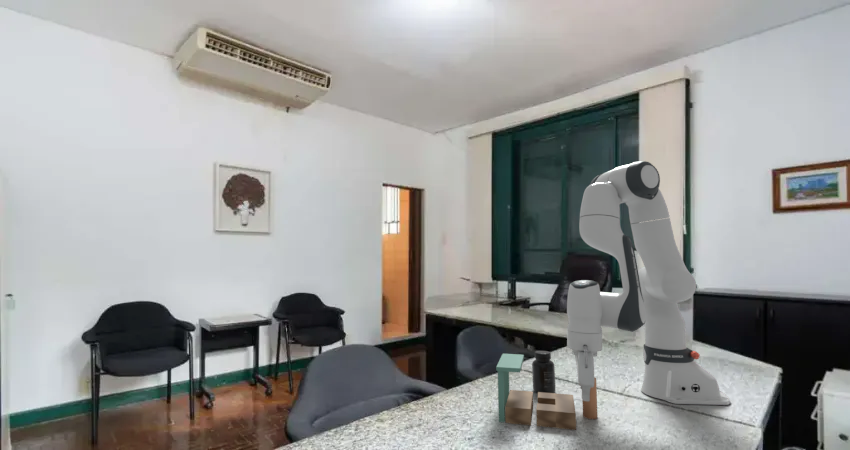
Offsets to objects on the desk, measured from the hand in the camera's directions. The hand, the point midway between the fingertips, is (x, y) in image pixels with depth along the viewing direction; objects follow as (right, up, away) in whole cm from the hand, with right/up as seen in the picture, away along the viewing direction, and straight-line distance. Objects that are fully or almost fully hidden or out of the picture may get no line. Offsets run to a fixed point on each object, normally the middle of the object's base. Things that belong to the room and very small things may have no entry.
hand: (584, 394), depth 113 cm
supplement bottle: (-5, -7, +20) cm, 22 cm away
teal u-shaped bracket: (-19, -6, +2) cm, 20 cm away
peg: (+1, -5, -1) cm, 6 cm away
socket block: (-12, -6, 0) cm, 13 cm away
